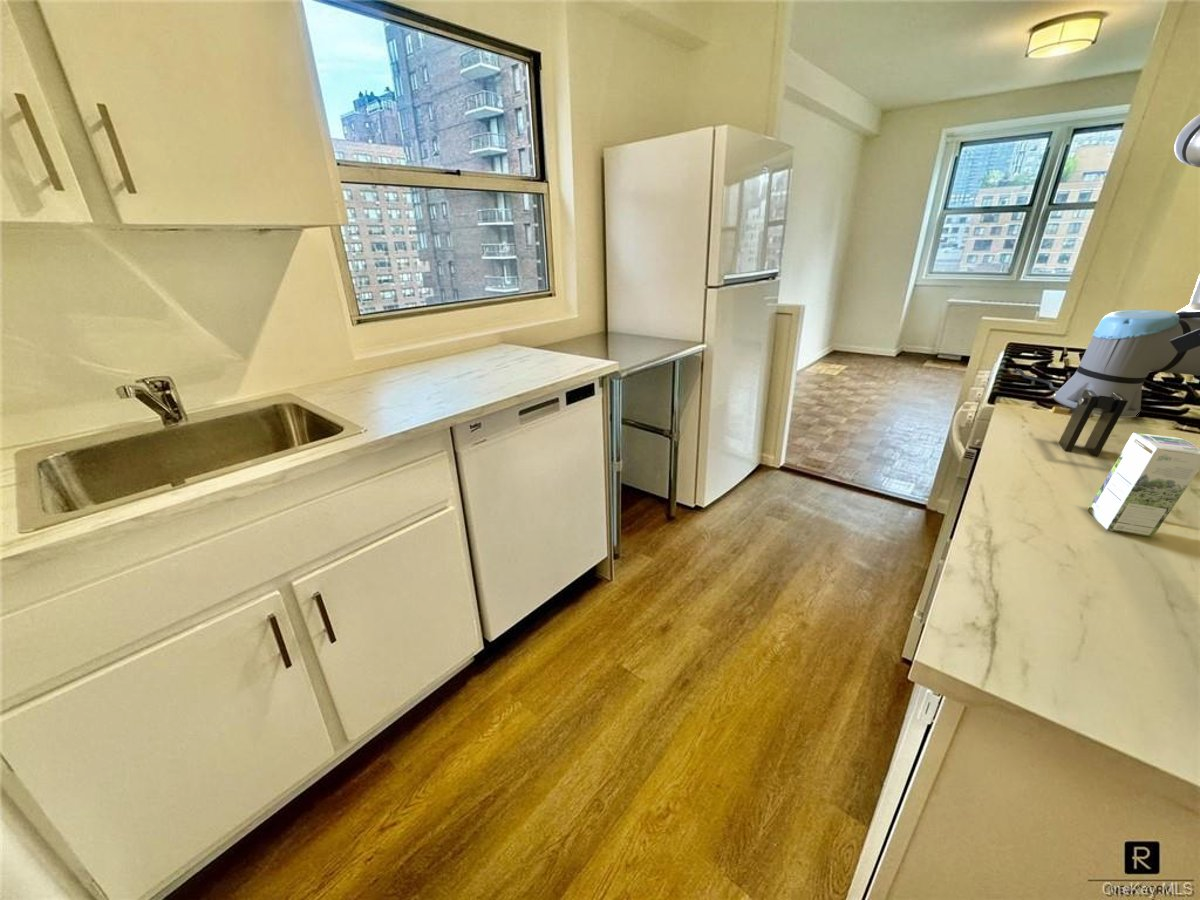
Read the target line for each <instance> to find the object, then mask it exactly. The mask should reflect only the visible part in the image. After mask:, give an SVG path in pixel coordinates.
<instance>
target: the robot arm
mask: <svg viewBox="0 0 1200 900" xmlns="http://www.w3.org/2000/svg"><path fill="white" fill-rule="evenodd" d="M1173 151H1174V154H1175V157H1176V159H1177V160H1178V161H1180V162H1181V163H1183V164H1184V165H1185V164H1186V165H1188V166H1192V167H1196V168H1200V113H1199V114H1198V115H1196V116H1195V117H1193V118H1192V119H1191V120H1190V121H1188V123H1186V124H1185V126H1183V128H1182V129H1181V131H1179V133H1178V134H1177V137H1176V139H1175V141H1174V145H1173ZM1011 372H1012V373H1017V372H1018V373H1019V374H1020V376H1021V377H1022V378H1024V379H1027V380H1030V381H1034V382H1038V383H1043V384H1046V385H1048V387H1049V389H1050V390H1052V391H1056V393H1055V394H1054V395H1053V400H1054V401H1055V402H1057V403H1058V404H1060V405H1062V406H1064V407H1066V408H1069V409H1073V408H1076V406H1077V404H1078V402H1079V400H1080V398H1081V396H1082V394H1083V392H1084V390H1085V389H1088V390H1092V391H1093V392H1094V393H1095V394H1096V395H1097V396H1099V395H1100V396H1108V397H1110V396H1111V395H1112V393H1119V394H1120V395H1121V396H1123V397H1124V398H1125V399H1126V400H1127V401H1128V402H1127V404H1126V406H1125V408H1124V409H1123V411H1122V413H1121V415H1120V417H1119V418H1135V417H1137V416H1138V415H1139V414H1140V412H1141V406H1142V393H1143V392H1142V390H1143V385H1144V383H1145V381H1146V380H1147V377H1148V376H1149V374H1150V372H1153V373H1164V374H1165V373H1166V374H1177V375H1189V376H1190V375H1191V376H1196V377H1200V274H1199V275H1198V278H1197V281H1196V283H1195V287H1194V289H1193V292H1192V295H1191V298H1190V300H1189V304H1188V305H1186V306H1185V307H1183V308H1181V309H1179V310H1177V311H1176V312H1172V311H1168V310H1158V309H1157V310H1155V309H1154V310H1150V309H1126V310H1118V311H1117V310H1116V311H1112V312H1110V313H1108V314H1106V315H1104V316H1103V318H1101V320H1100V321H1099V323H1098V325H1097V326H1096V328H1095V329H1094V330H1093V332H1092V336H1091V338H1090V341H1089V343H1088V345H1087V347H1086V349H1085V352H1084V354H1083V356H1082V357H1081V360H1080V362H1079V365H1078V367H1077V369H1076V371H1075V372H1074V374H1073V375H1072V376H1071V377H1070V378H1069V379H1068V380H1067V381H1066V382H1065V383H1064V384H1063V385H1062V386H1061V387H1055V386H1054V383H1052V382H1051V381H1049V380H1045V379H1042V378H1037V377H1033V376H1030V375H1027V374H1026V373H1025V372H1024V371H1023V370H1022V369H1021V368H1016V369H1013V370H1012V371H1011ZM1138 413H1139V414H1138ZM1092 414H1093V415H1098V416H1101V414H1102V412H1100V411H1093V410H1092V412H1091V415H1092ZM1137 414H1138V415H1137ZM1136 415H1137V416H1136Z"/></svg>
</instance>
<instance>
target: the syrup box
mask: <svg viewBox="0 0 1200 900" xmlns="http://www.w3.org/2000/svg"><path fill="white" fill-rule="evenodd" d="M1199 470H1200V447H1198V445H1196V444H1194V443H1193V442H1191V441H1189V440H1186V439H1184V438H1182V437H1177V436H1167V435H1157V434H1150V433H1149V434H1148V433H1139V432H1133V433H1131V435H1130V436H1129V439H1128V441H1127V442H1126V443H1125V445H1124V447H1123V449H1122V450H1121V452H1120V454H1119V456H1118V457H1117V460H1116V461H1115V462H1114V464H1113V466H1112V468H1111V469H1110V471H1109V473H1108V474H1107V476H1106V478H1105V480H1104V482H1103V484H1102V485H1101V487H1100V488H1099V490H1098V492H1097V494H1096V495H1095V497H1094V498H1093V500H1092V501H1091V504H1090V507H1088V509H1087V511H1088V513H1089V514H1090V515H1091V516H1092V517H1093V518H1094V519H1095V520H1096V521H1097V522H1098V523H1099V524H1100V525H1101V526H1102V527H1103V528H1104V529H1105V530H1107V531H1111V532H1118V533H1123V534H1130V535H1135V536H1142V537H1147V538H1148V537H1149V538H1153V537H1154V536H1155V535H1156V533H1157V531H1158V530H1159V528H1160V527H1161V526H1162V524H1163V523H1164V521H1165V520H1166V519H1167V517H1168V515H1169V514H1170V513H1171V512H1172V510H1173V509H1174V507H1175V506H1176V504H1177V503H1178V501H1179V500H1180V498H1181V497H1182V495H1183V494H1184V492H1185V491H1186V489H1187V488H1188V487H1189V485H1190V484H1191V482H1192V481H1193V479H1194V478H1195V476H1196V475H1197V473H1198V472H1199Z"/></svg>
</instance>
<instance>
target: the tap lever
mask: <svg viewBox="0 0 1200 900" xmlns="http://www.w3.org/2000/svg"><path fill="white" fill-rule="evenodd" d="M1098 397H1099V399H1098V401H1097V403H1096V404H1095V406H1094V408H1093V411H1100V412H1105V411H1109V410H1111V409H1112V405H1113V402H1114V397H1108V396H1100V395H1099V396H1098ZM1074 410H1075V408H1069V407H1061V406H1053V407H1052V408H1051V411H1050V412H1051V414H1055V415H1063V416H1069V417H1071V416H1072V414H1073V412H1074ZM1091 417H1092V413H1091V414H1090V416H1089V418H1088V419H1090V418H1091Z"/></svg>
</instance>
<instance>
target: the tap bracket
mask: <svg viewBox="0 0 1200 900" xmlns="http://www.w3.org/2000/svg"><path fill="white" fill-rule="evenodd" d="M1110 397H1114V402H1113V405H1112V409H1111V410H1109V411H1105V412H1102V414H1101V415H1099V418H1098V419H1097V421H1096V423H1095V424H1094V427H1093V429H1092V430H1091V432H1090V435H1089V436H1088V439H1087V441H1086V442H1085V444H1084V446H1083V448H1084V449H1085V450H1086V451H1087V453H1088V454H1089V455H1090V456H1091V457H1095V458H1098V457H1099V456H1100V453H1101V452H1102V451H1103V448H1104V446H1105V445H1106V442H1107V441H1108V439H1109V438H1110V435H1111V434H1112V432H1113V430H1114V428H1115V426H1116V424H1117V423H1118V421H1119V419H1120V418H1121V417H1120V415H1121V413H1122V411H1123V409H1124V408H1125V406H1126V404H1127V402H1128V401H1127V400H1126V399H1125V398H1124V397H1123V396H1121V395H1120V394H1119V393H1112V395H1111V396H1110ZM1098 399H1099V397H1098V396H1097V395H1096V394H1095V393H1094V392H1093V391H1092V390H1088V389H1085V390H1084V392H1083V394H1082V396H1081V398H1080V400H1079V402H1078V404H1077V406H1076V408H1075V410H1074V412H1073V414H1072V416H1070V419H1069V420H1068V423H1067V424H1066V427H1065V429H1064V431H1063V433H1062V435H1061V436H1060V439H1059V441H1058V444H1059V446H1060V447H1061V449H1062V450H1063V451H1064V452H1066V453H1072V451H1073V449H1074V448H1075V445H1076V444H1077V441H1078V439H1079V438H1080V436H1081V434H1082V432H1083V430H1084V428H1085V426H1086V424H1087V422H1088V420H1089V419H1090V418H1089V416H1090V414H1091V415H1092V413H1091V412H1092V410H1093V408H1094V406H1095V404H1096V403H1097V401H1098ZM1090 417H1091V416H1090Z"/></svg>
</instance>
